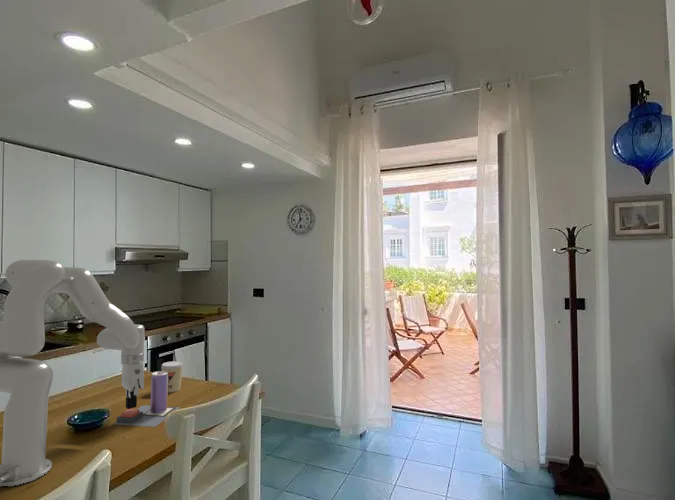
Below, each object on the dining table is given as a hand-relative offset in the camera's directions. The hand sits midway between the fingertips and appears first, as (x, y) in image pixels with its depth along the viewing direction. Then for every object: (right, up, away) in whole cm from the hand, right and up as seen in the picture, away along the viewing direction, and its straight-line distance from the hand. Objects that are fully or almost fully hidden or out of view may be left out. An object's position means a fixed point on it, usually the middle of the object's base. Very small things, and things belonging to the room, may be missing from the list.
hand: (131, 407), depth 140 cm
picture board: (+5, -6, +4) cm, 8 cm away
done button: (0, -4, 0) cm, 4 cm away
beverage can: (+7, -5, +7) cm, 11 cm away
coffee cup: (0, -7, +35) cm, 36 cm away
